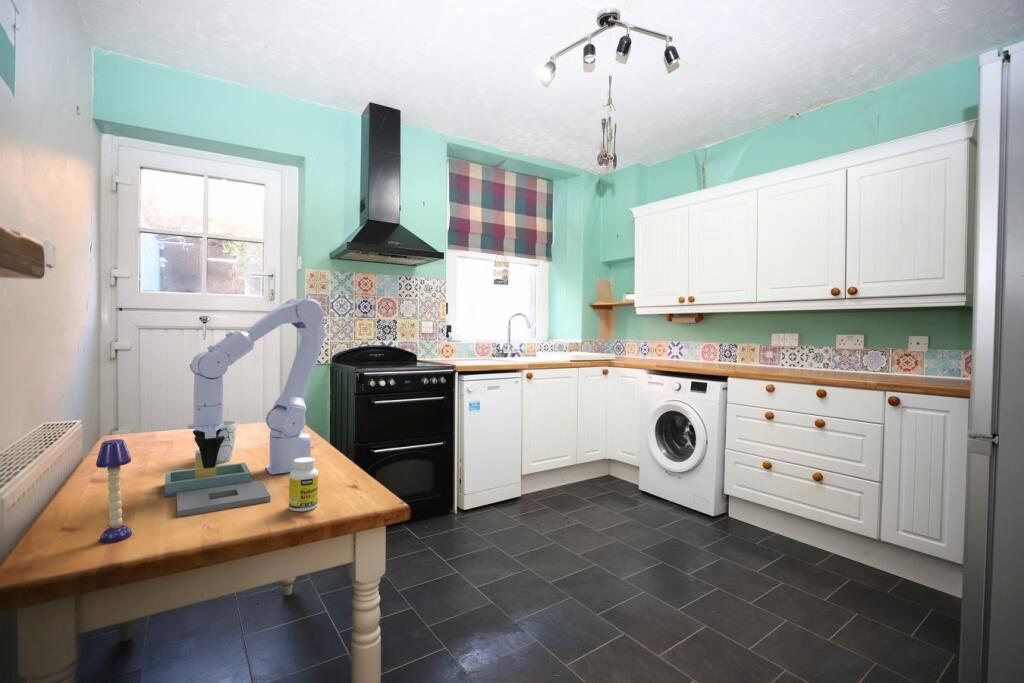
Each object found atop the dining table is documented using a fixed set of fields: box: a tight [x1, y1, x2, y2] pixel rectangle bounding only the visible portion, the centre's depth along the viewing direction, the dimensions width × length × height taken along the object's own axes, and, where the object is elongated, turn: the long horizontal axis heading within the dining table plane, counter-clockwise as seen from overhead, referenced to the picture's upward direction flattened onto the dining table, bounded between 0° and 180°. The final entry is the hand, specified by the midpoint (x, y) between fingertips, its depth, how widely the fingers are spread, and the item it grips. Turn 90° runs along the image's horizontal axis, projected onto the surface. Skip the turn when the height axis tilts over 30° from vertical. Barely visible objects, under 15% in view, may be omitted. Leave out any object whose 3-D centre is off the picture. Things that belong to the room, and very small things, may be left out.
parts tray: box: [164, 462, 251, 498], centre depth 111 cm, size 16×10×3 cm, turn 125°
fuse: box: [194, 449, 217, 479], centre depth 111 cm, size 4×3×7 cm
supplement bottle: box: [288, 457, 319, 512], centre depth 99 cm, size 5×5×10 cm
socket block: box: [176, 480, 271, 518], centre depth 102 cm, size 16×12×1 cm
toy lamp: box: [95, 438, 133, 544], centre depth 83 cm, size 5×5×17 cm
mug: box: [216, 420, 237, 464], centre depth 132 cm, size 11×8×10 cm
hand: (208, 463), depth 111 cm, fingers open, 7 cm apart
